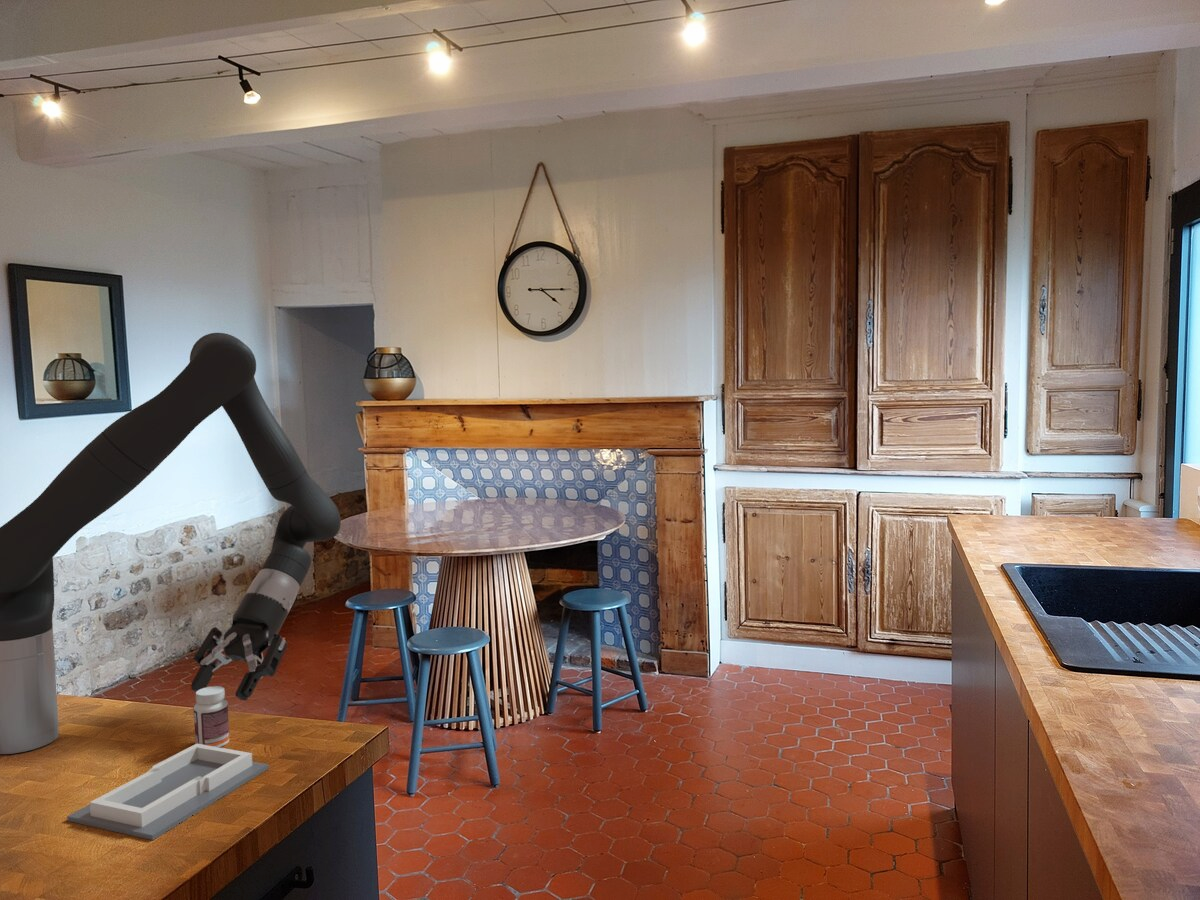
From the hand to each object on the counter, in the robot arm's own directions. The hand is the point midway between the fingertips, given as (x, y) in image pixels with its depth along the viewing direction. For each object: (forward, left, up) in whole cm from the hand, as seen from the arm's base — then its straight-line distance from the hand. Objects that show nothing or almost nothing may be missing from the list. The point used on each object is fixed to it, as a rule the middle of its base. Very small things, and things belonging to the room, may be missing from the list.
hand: (218, 695), depth 130 cm
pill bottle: (0, -2, -7) cm, 7 cm away
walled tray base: (+7, -16, -7) cm, 18 cm away
